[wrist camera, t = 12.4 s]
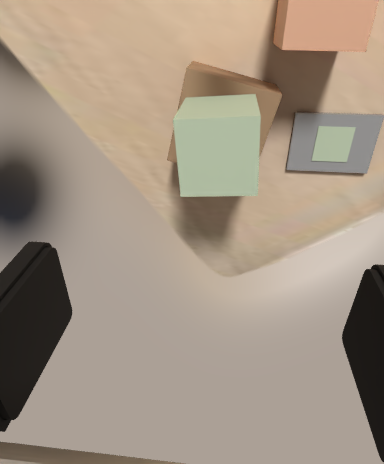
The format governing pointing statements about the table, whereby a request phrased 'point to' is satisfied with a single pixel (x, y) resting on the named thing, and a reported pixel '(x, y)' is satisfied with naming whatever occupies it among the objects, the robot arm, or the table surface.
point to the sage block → (218, 145)
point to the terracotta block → (324, 24)
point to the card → (333, 142)
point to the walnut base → (229, 83)
